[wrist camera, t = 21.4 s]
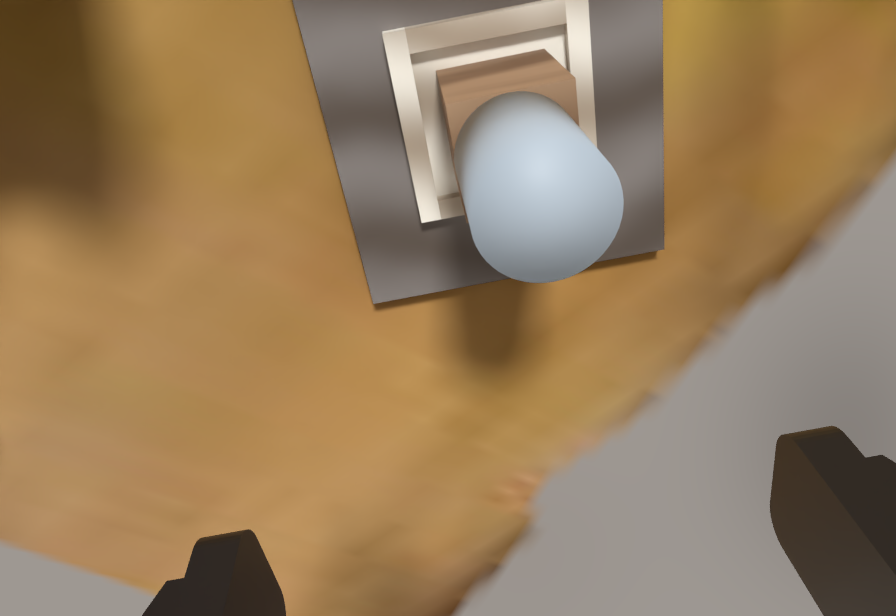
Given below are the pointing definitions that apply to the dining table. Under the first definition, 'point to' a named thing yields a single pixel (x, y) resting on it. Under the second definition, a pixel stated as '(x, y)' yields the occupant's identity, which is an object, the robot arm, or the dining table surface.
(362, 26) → the building board
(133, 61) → the dining table surface
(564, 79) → the walnut block
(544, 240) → the pale blue rounded ovoid
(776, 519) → the robot arm
